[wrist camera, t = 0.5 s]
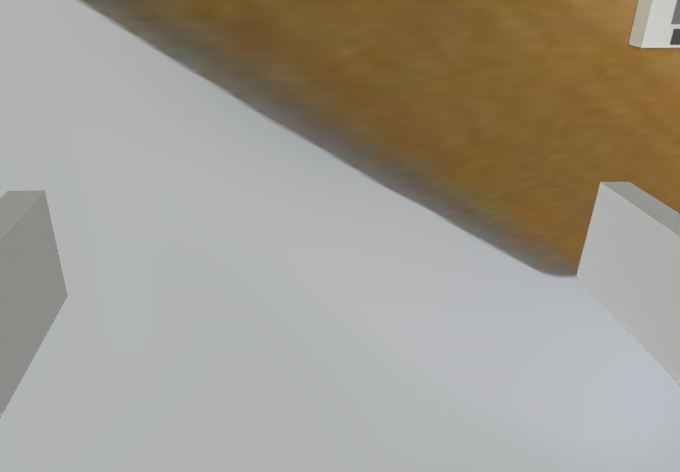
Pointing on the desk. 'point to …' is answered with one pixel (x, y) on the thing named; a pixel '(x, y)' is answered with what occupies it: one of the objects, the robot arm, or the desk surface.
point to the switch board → (656, 24)
